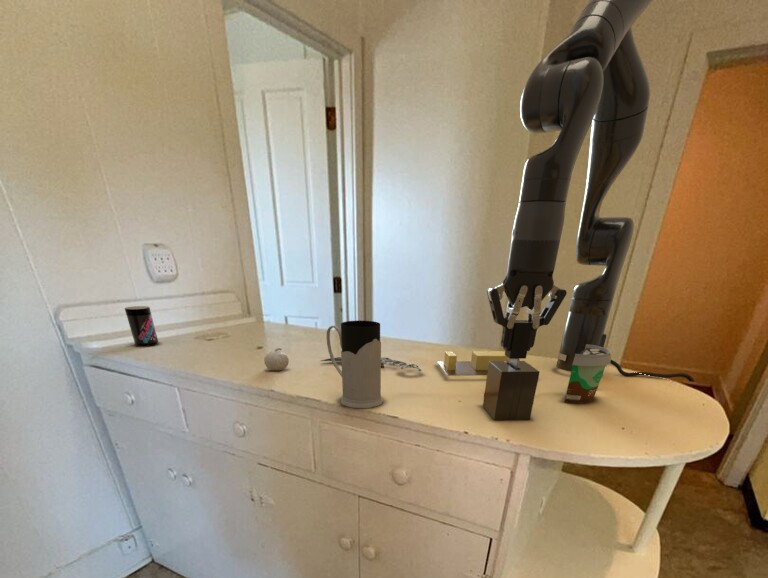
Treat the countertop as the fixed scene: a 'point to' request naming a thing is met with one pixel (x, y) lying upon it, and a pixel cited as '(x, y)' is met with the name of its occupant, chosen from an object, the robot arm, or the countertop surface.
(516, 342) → the kitchen knife
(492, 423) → the countertop surface
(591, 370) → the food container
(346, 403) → the glass holder
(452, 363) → the butter slice
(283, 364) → the garlic
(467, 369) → the rectangular tray
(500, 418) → the knife block
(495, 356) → the butter
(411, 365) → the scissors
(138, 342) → the supplement container
